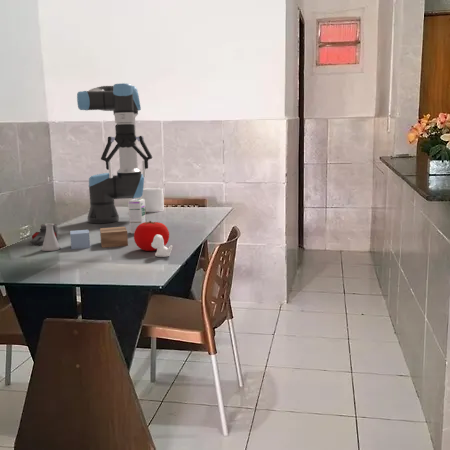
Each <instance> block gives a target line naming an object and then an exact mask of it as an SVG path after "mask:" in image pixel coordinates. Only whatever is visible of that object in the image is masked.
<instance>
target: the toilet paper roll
mask: <svg viewBox="0 0 450 450" xmlns="http://www.w3.org/2000/svg"><path fill="white" fill-rule="evenodd" d="M164 198H165V197H164V188H163V187H155V186H154V187H143V195H142V197H141V199H145V210H146V213H158V212H164V211H165V204H164V203H165V199H164Z"/></svg>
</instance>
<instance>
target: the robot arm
mask: <svg viewBox="0 0 450 450" xmlns="http://www.w3.org/2000/svg"><path fill="white" fill-rule="evenodd" d="M138 91H139V90H138V88H137V87H136V86H135V85H133V84H131V83H125V82H124V83H123V82H122V83H114V84H113V85H101V86H97V87H93V88H90V89H89V90H82V91H78V92H77V95H76V101H77V107H78V110H80V111H103V112H105V111H106V112H109V111H110V112H113V116H114V123H115V127H114V128H115V136H108V137H107V143H106V145H105V148H104V150H103V152H102V154H101V157H100V160H101V161H103V162H104V161H105V166H106V167H105V168H106V170H108V172H104V173H103V172H102V173H97V174H94V175H90V176H89V178H88V188H89V189H88V190H89V211H88V214H87V223H89V224H108V223H109V224H110V223H115V222H118V221H119V220H120V215H119V213H118V211H117V208H116V205H115V200H123V199H124V200H125V199H129V200H130V199H131V200H133V199H141V198H142V195H143V188H145V187H144V186H145V185H144V183H145V178H146V177H147V170H148V168H149V160H151V159H152V158H153V156H152V153H151V152H150V150H149V148H148V147H147V144H146V143H145V141H144V136H143V135H138V136H137V131H136V127H137V126H136V117H138V115H139V111H141V109H142V108H141V103H140V96H139V95H140V94H139V92H138ZM114 141H115V142H116V145H115V146H114V147H113V149H112V150H111V151H110V148H111V147H112V144H113V142H114ZM137 142H139V143H140V145H141V146H142V149H143V151H144V152H143V151H142V150H141V148H140V147H138V145H137ZM109 151H110V152H109ZM117 152H118V156H119V157H118V158H119V169H117V171H116V175H114V173H113V162H112V161H111V159H113V157H114V156H115V154H116V153H117ZM108 153H109V154H108ZM138 155H139V156H140V157H141V158H142V159H143V160H142V162H141V163H142V165H141V166H142V170H141V169H139V167H138ZM146 169H147V170H146Z"/></svg>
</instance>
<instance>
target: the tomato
mask: <svg viewBox="0 0 450 450" xmlns="http://www.w3.org/2000/svg"><path fill="white" fill-rule="evenodd" d="M157 234H158V235H161V236H162V237H163V240H164V246H165V247H166V245H167V244H168V242H169V239H170V231H169V229H168V227H167V225H165V224H164V223H162V222H159V221H152V220H149V221H146V222H144V223H142V224H140V225H139V226H138V227H137V228H136V230H135V233H134V234H133V240H134V243H135V245H136V246H137V247H138V248H139V249H140V250H142V251H147V252H154V251H157V248H156V249H155V248H153V247H152V244H151V243H152V242H153V240H154V236H155V235H157Z"/></svg>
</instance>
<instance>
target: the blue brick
mask: <svg viewBox="0 0 450 450" xmlns="http://www.w3.org/2000/svg"><path fill="white" fill-rule="evenodd" d="M69 232H70V233H69V235H70V247H71V248H70V249H71V250H80V249H90V248H91V244H90V243H91V241H90V230H89V229H77V230H70V231H69Z"/></svg>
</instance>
